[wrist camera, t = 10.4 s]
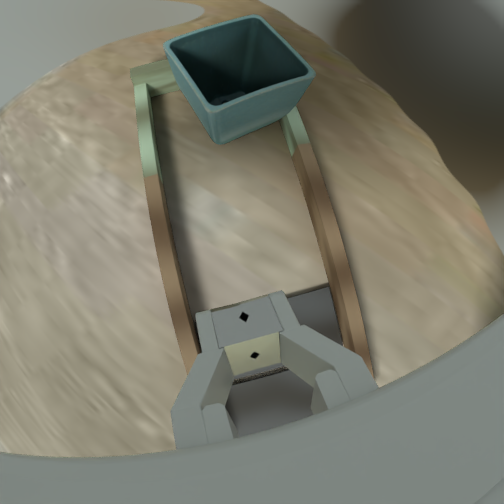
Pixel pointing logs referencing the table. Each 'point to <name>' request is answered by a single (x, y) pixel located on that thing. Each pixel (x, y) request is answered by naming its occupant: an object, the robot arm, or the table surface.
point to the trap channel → (304, 306)
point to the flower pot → (238, 75)
